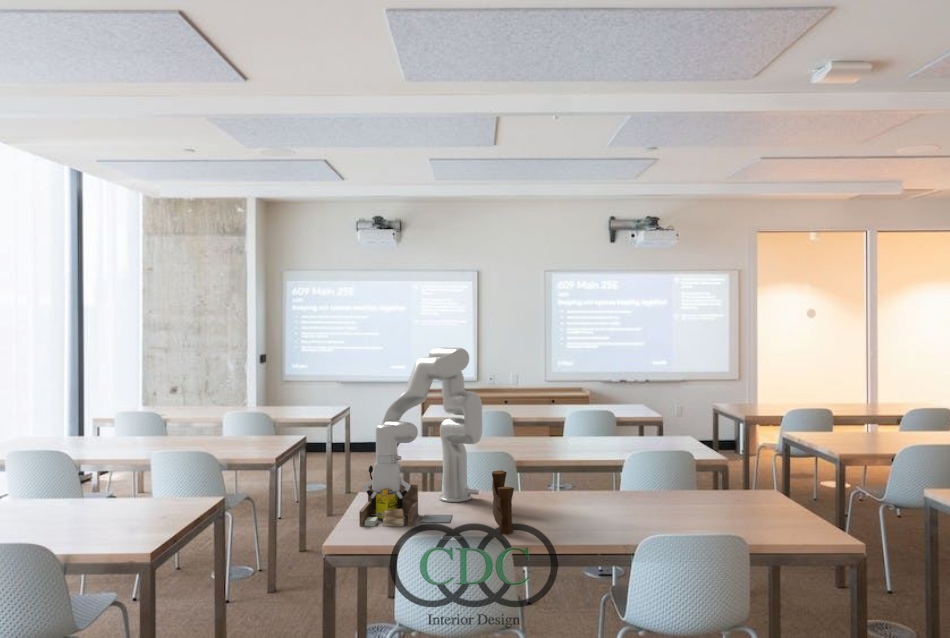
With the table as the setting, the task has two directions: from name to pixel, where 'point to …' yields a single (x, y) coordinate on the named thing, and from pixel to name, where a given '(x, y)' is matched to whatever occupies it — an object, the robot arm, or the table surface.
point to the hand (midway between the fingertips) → (387, 508)
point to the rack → (408, 507)
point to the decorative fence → (502, 502)
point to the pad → (436, 519)
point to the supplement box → (385, 502)
